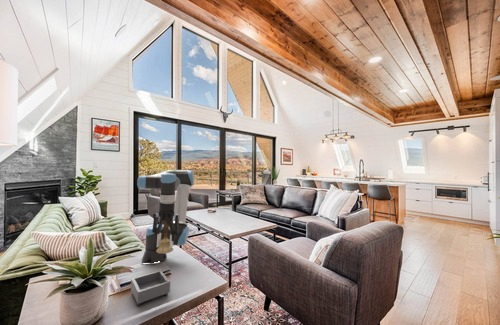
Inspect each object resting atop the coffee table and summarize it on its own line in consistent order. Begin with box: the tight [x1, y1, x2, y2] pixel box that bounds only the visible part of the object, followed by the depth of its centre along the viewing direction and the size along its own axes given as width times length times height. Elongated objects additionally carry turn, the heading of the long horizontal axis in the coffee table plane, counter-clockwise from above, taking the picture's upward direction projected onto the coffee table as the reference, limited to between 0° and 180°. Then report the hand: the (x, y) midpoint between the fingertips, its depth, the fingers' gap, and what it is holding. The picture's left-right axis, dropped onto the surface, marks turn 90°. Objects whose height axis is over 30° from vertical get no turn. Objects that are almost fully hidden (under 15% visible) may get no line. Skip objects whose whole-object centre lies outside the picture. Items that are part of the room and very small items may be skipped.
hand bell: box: [156, 220, 174, 254], centre depth 110 cm, size 8×8×16 cm
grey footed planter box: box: [130, 269, 171, 307], centre depth 102 cm, size 14×14×7 cm
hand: (164, 246), depth 110 cm, fingers closed on hand bell, 6 cm apart
